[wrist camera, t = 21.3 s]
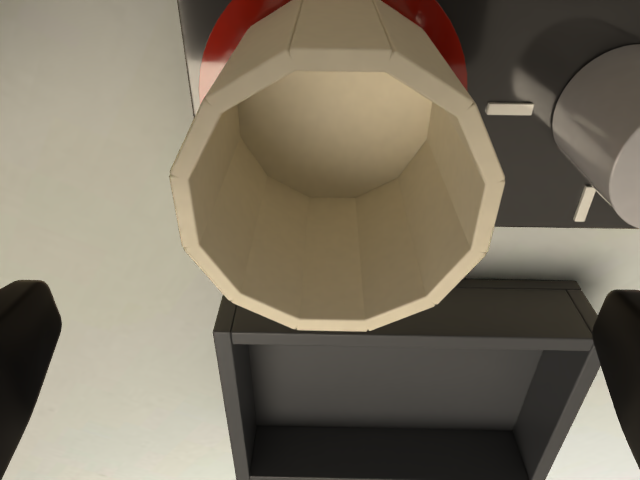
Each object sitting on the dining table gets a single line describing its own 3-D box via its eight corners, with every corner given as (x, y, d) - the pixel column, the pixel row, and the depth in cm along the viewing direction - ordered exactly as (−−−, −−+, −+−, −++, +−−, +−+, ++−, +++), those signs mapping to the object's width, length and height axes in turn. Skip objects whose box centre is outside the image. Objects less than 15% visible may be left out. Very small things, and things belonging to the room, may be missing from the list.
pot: (457, -9, 14) (539, 50, 8) (426, 201, 18) (468, 334, 12) (216, -12, 14) (143, 45, 8) (237, 198, 18) (196, 328, 12)
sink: (576, 280, 22) (614, 339, 19) (518, 428, 28) (540, 490, 25) (228, 274, 22) (212, 331, 19) (246, 422, 28) (236, 483, 26)
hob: (776, -60, 15) (838, -54, 13) (657, 202, 20) (689, 232, 18) (185, -66, 15) (165, -61, 13) (218, 195, 20) (207, 224, 18)
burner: (492, -45, 13) (493, -45, 13) (444, 219, 18) (445, 221, 18) (180, -49, 13) (179, -48, 13) (215, 216, 18) (214, 217, 18)
